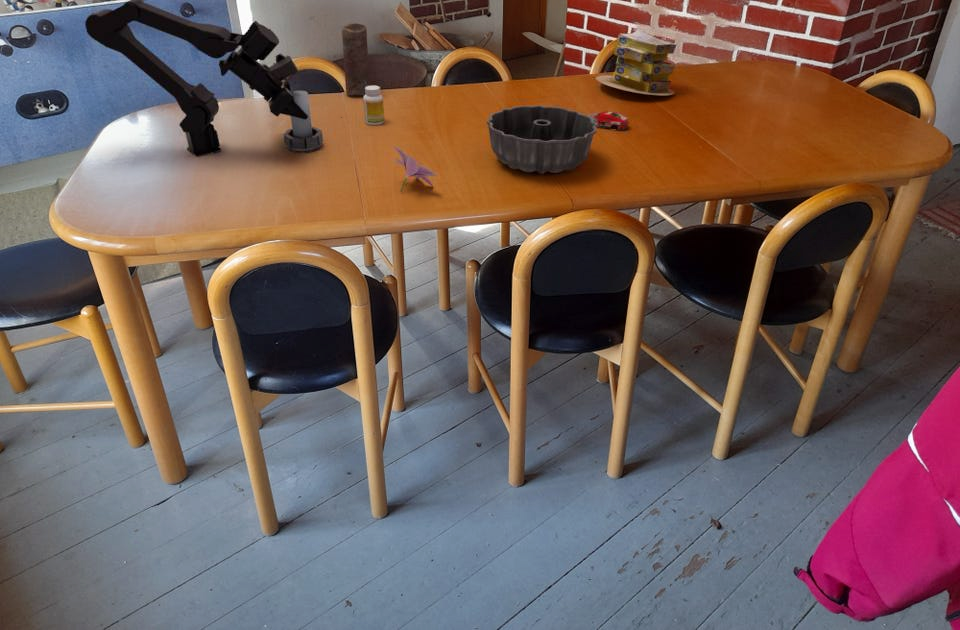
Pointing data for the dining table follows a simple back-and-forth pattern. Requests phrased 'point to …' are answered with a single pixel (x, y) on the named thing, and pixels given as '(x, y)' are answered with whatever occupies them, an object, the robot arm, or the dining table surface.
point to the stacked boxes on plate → (641, 64)
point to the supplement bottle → (373, 106)
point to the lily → (413, 168)
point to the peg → (299, 125)
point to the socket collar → (303, 141)
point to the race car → (609, 120)
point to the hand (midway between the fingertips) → (305, 114)
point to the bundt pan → (541, 138)
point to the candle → (355, 59)
